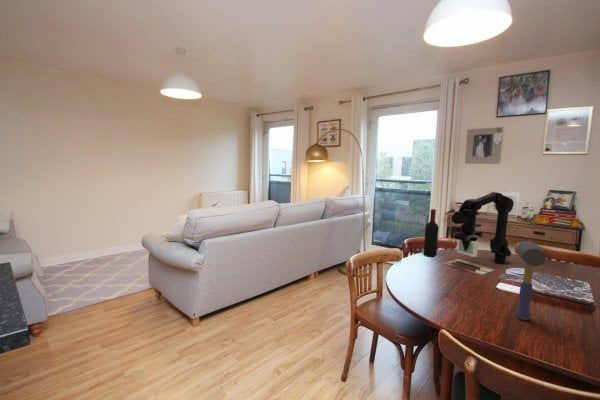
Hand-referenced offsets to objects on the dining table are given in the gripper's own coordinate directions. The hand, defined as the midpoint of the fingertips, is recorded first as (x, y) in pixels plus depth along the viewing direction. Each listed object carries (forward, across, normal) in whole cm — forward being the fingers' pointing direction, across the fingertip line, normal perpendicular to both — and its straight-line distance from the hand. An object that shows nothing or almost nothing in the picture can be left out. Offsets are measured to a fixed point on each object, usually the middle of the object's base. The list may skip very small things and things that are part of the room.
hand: (467, 250), depth 165 cm
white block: (+2, 0, 0) cm, 2 cm away
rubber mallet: (+11, +34, +41) cm, 54 cm away
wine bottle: (+11, -4, -25) cm, 28 cm away
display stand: (+11, -3, 0) cm, 12 cm away
